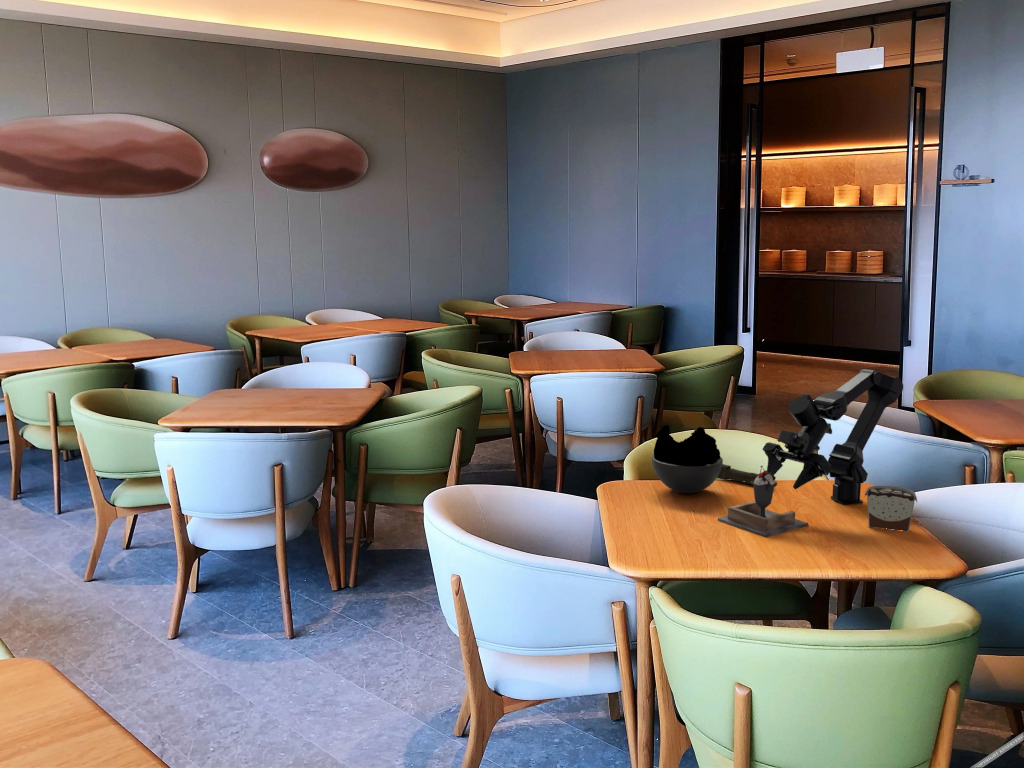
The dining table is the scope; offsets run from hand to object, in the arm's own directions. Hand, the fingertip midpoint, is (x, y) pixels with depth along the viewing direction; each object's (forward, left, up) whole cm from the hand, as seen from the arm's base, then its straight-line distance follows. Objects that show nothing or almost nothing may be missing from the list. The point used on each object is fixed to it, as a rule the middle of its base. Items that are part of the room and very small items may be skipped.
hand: (780, 484), depth 243 cm
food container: (-24, +12, -10) cm, 29 cm away
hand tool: (-5, -35, -10) cm, 36 cm away
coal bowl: (+14, -28, -10) cm, 33 cm away
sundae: (+6, +2, -9) cm, 11 cm away
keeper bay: (+6, +2, -9) cm, 11 cm away
